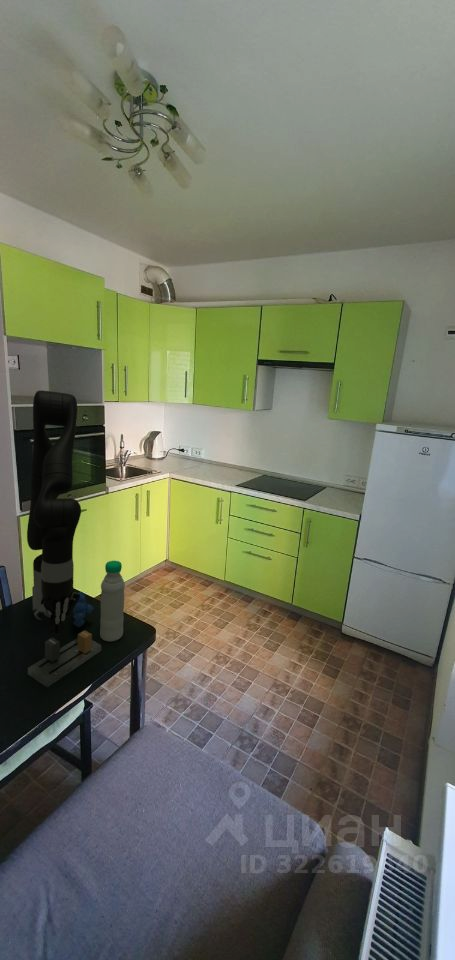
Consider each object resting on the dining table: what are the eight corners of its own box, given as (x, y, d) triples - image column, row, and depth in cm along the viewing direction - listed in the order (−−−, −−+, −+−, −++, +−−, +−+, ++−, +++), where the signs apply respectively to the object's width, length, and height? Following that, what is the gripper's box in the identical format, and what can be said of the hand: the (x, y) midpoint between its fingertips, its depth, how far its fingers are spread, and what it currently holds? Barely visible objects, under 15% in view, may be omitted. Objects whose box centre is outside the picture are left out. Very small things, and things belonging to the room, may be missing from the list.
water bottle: (116, 644, 119) (118, 569, 113) (95, 639, 120) (96, 565, 115) (126, 631, 126) (129, 560, 120) (106, 627, 127) (108, 556, 121)
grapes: (93, 635, 122) (93, 601, 119) (70, 638, 120) (70, 603, 117) (93, 614, 133) (94, 582, 130) (72, 616, 131) (72, 584, 128)
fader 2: (77, 649, 112) (77, 633, 111) (84, 645, 114) (84, 629, 113) (84, 653, 110) (85, 638, 109) (91, 649, 112) (91, 633, 111)
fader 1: (45, 657, 107) (44, 641, 106) (52, 653, 109) (52, 637, 108) (52, 662, 106) (51, 645, 105) (59, 657, 108) (59, 641, 107)
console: (27, 674, 104) (27, 667, 103) (82, 640, 119) (82, 634, 119) (47, 687, 100) (46, 680, 100) (101, 650, 116) (101, 644, 115)
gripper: (70, 560, 106) (69, 616, 110) (23, 578, 94) (25, 639, 99) (88, 569, 102) (87, 626, 106) (43, 589, 91) (43, 652, 95)
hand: (57, 633), depth 103 cm, fingers closed
